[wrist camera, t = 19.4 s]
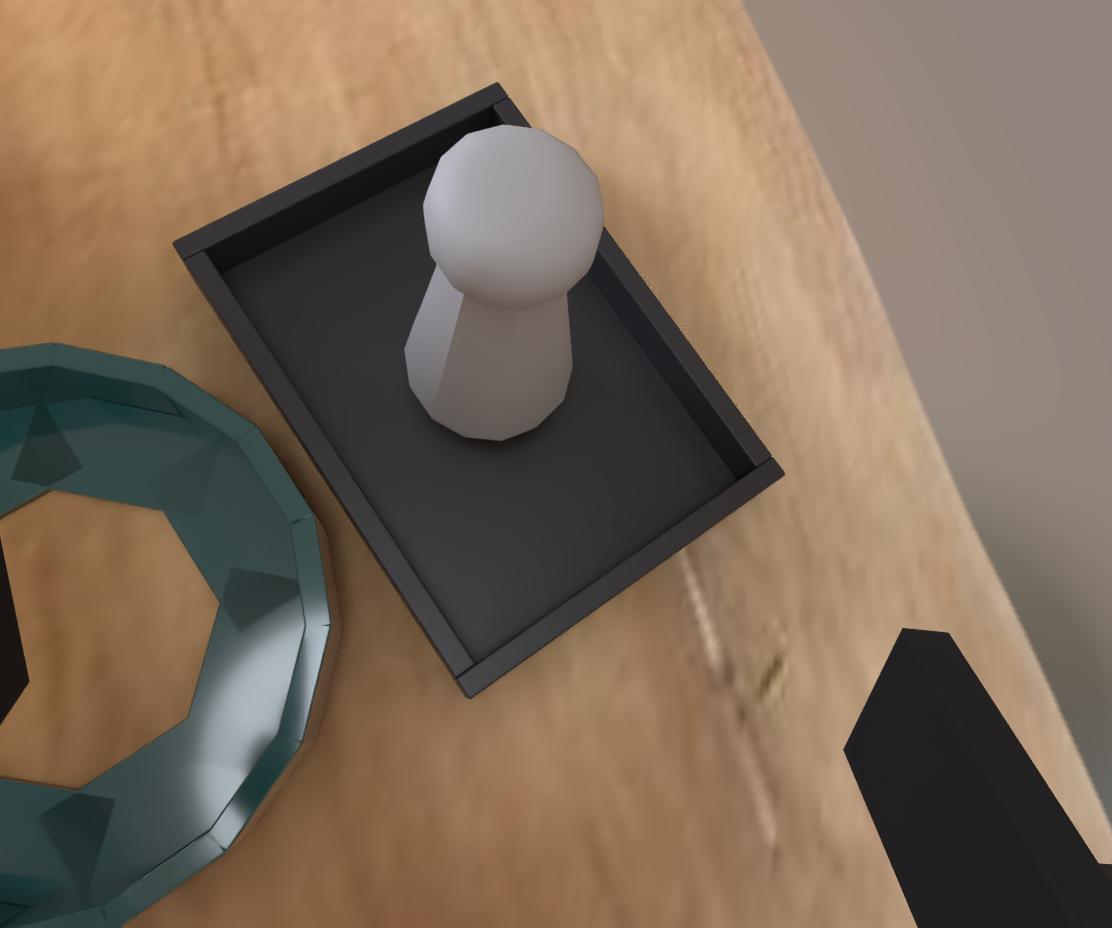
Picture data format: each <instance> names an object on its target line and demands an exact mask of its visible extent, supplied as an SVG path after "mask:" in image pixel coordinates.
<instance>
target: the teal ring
mask: <svg viewBox="0 0 1112 928" xmlns="http://www.w3.org/2000/svg"><path fill="white" fill-rule="evenodd" d="M50 490H56V491H61V492H66V493H71V494H76V495H81V496H86V497H91V498H96V499H102V500H107V501H112V502H117V503H122V504H127V505H132V506H137V507H142V508H147V509H152V510H158V511H163V512H164V513H165V515H166V517H167V518H168V520H169V522H170V523H171V525H172V526H173V528H174V530H175V531H176V533H177V534H178V536H179V538H180V539H181V541H182V543H183V544H184V546H185V547H186V549H187V551H188V552H189V554H190V555H191V557H192V559H193V560H194V562H195V564H196V565H197V567H198V568H199V570H200V572H201V573H202V575H203V576H204V578H205V580H206V581H207V583H208V585H209V586H210V588H211V589H212V591H213V593H214V594H215V596H216V597H217V599H218V601H219V602H220V604H219V608H218V612H217V615H216V619H215V622H214V626H213V629H212V633H211V636H210V640H209V643H208V647H207V651H206V654H205V658H204V661H203V665H202V668H201V672H200V675H199V679H198V682H197V686H196V689H195V693H194V697H193V700H192V704H191V707H190V711H189V714H188V718H187V719H186V720H184V721H182V722H181V723H179V724H178V725H176V726H175V727H173V728H172V729H170V730H169V731H167V732H166V733H164V734H163V735H161V736H159V737H158V738H156V739H155V740H153V741H152V742H150V743H149V744H147V745H146V746H144V747H143V748H141V749H140V750H138V751H136V752H135V753H133V754H132V755H130V756H129V757H127V758H126V759H124V760H123V761H121V762H120V763H118V764H117V765H115V766H113V767H112V768H110V769H109V770H107V771H106V772H104V773H103V774H101V775H100V776H98V777H97V778H95V779H94V780H92V781H90V782H89V783H87V784H86V785H84V786H83V787H81V788H80V789H78V790H75V789H69V788H63V787H57V786H51V785H45V784H39V783H33V782H27V781H20V780H14V779H8V778H2V777H0V928H121V927H122V926H124V925H125V924H127V923H128V922H129V921H131V920H132V919H134V918H135V917H136V916H138V915H139V914H141V913H142V912H144V911H145V910H146V909H148V908H149V907H151V906H152V905H153V904H155V903H156V902H158V901H159V900H161V899H162V898H163V897H165V896H166V895H168V894H169V893H170V892H172V891H173V890H175V889H176V888H178V887H179V886H180V885H182V884H183V883H185V882H186V881H187V880H189V879H190V878H192V877H193V876H195V875H196V874H197V873H199V872H200V871H202V870H203V869H204V868H206V867H207V866H209V865H210V864H212V863H213V862H214V861H216V860H217V859H219V858H220V857H221V856H223V855H224V854H226V853H227V852H228V851H229V850H230V849H231V848H232V847H234V846H235V845H236V844H237V843H238V842H239V841H241V840H242V839H243V838H244V837H245V836H246V835H247V834H249V832H250V831H252V830H253V828H254V827H255V825H256V824H257V822H258V821H259V820H260V818H261V817H262V815H263V814H264V812H265V811H266V809H267V808H268V807H269V805H270V804H271V802H272V801H273V799H274V798H275V796H276V795H277V794H278V792H279V791H280V789H281V788H282V786H283V785H284V783H285V782H286V780H287V779H288V778H289V776H290V775H291V773H292V772H293V770H294V769H295V767H296V766H297V765H298V763H299V762H300V760H301V759H302V757H303V756H304V754H305V753H306V752H307V750H308V749H309V747H310V746H311V744H312V743H313V741H314V740H315V738H316V736H317V734H318V732H319V728H320V723H321V719H322V715H323V711H324V707H325V703H326V699H327V694H328V690H329V686H330V682H331V678H332V674H333V669H334V665H335V661H336V657H337V653H338V649H339V645H340V640H341V636H342V630H343V629H342V622H341V616H340V610H339V604H338V597H337V591H336V585H335V579H334V572H333V566H332V560H331V554H330V547H329V541H328V535H327V533H326V530H325V529H324V527H323V525H322V524H321V522H320V521H319V519H318V518H317V516H316V515H315V513H314V512H313V510H312V508H311V507H310V505H309V504H308V502H307V501H306V499H305V498H304V496H303V495H302V493H301V491H300V490H299V488H298V487H297V485H296V484H295V482H294V481H293V479H292V477H291V476H290V474H289V473H288V471H287V470H286V468H285V467H284V465H283V464H282V462H281V460H280V459H279V457H278V456H277V454H276V453H275V451H274V450H273V448H272V447H271V445H270V444H269V442H268V441H267V440H266V438H265V437H264V435H263V434H262V432H261V431H260V429H259V428H258V427H257V426H256V425H255V424H254V423H252V422H251V421H249V420H248V419H246V418H245V417H243V416H242V415H240V414H239V413H237V412H236V411H234V410H233V409H231V408H230V407H228V406H227V405H225V404H224V403H222V402H221V401H219V400H218V399H216V398H215V397H213V396H212V395H210V394H209V393H207V392H206V391H204V390H203V389H201V388H200V387H198V386H197V385H195V384H194V383H192V382H191V381H189V380H188V379H186V378H185V377H183V376H182V375H180V374H179V373H177V372H176V371H174V370H173V369H171V368H169V367H166V366H165V365H161V364H156V363H152V362H147V361H142V360H137V359H133V358H128V357H123V356H119V355H114V354H109V353H105V352H100V351H95V350H90V349H86V348H81V347H76V346H72V345H67V344H62V343H44V344H36V345H29V346H22V347H14V348H7V349H0V518H1V517H3V516H5V515H7V514H9V513H10V512H12V511H14V510H16V509H18V508H20V507H21V506H23V505H25V504H27V503H29V502H30V501H32V500H34V499H36V498H38V497H39V496H41V495H43V494H45V493H47V492H49V491H50Z"/></svg>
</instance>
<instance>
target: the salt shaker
mask: <svg viewBox="0 0 1112 928" xmlns="http://www.w3.org/2000/svg"><path fill="white" fill-rule="evenodd" d="M423 210H424V220H425V226H426V232H427V238H428V244H429V250H430V255H431V256H432V258H433V259H434V261H435V262H436V264H437V265H436V268H435V271H434V273H433V276H432V278H431V281H430V284H429V286H428V289H427V291H426V294H425V297H424V299H423V302H422V304H421V307H420V309H419V311H418V314H417V316H416V319H415V321H414V324H413V327H412V330H411V332H410V335H409V338H408V341H407V343H406V346H405V349H404V350H405V358H406V365H407V372H408V379H409V385H410V387H411V389H412V391H413V392H414V394H415V395H416V396H417V398H418V399H419V401H420V402H421V404H422V405H423V407H424V408H425V410H426V411H427V412H428V414H429V415H430V417H431V418H432V419H433V420H434V421H436V422H438V423H440V424H442V425H443V426H445V427H447V428H449V429H450V430H452V431H454V432H456V433H457V434H459V435H461V436H463V437H467V438H477V439H486V440H496V441H503V440H505V439H508V438H510V437H513V436H516V435H518V434H521V433H524V432H526V431H529V430H531V429H534V428H536V427H537V426H538V425H539V424H540V423H541V422H542V421H543V420H544V419H545V418H546V417H547V416H548V415H549V414H550V413H551V412H552V411H553V410H554V409H555V408H556V407H557V406H558V405H559V404H560V403H561V402H562V401H563V400H564V397H565V394H566V390H567V386H568V383H569V379H570V375H571V372H572V368H573V362H572V350H571V338H570V326H569V314H568V302H567V292H568V291H569V290H570V289H571V288H572V287H573V286H574V285H575V284H576V283H577V282H578V281H579V280H580V279H581V278H582V277H583V276H584V275H586V274H587V272H588V270H589V269H590V267H591V265H592V263H593V261H594V258H595V254H596V251H597V247H598V244H599V240H600V237H601V233H602V230H603V222H604V210H603V205H602V200H601V194H600V189H599V184H598V178H597V177H596V176H595V174H594V173H593V172H592V170H591V169H590V168H589V167H588V165H587V164H586V163H585V161H584V160H583V159H582V157H581V156H580V155H579V154H578V152H577V151H576V150H575V149H574V148H573V147H571V146H569V145H567V144H566V143H564V142H562V141H561V140H559V139H557V138H556V137H554V136H552V135H550V134H549V133H547V132H545V131H544V130H542V129H535V128H527V127H519V126H511V125H500V126H496V127H492V128H488V129H484V130H480V131H476V132H473V133H469V134H467V135H465V136H464V137H463V138H462V139H461V140H460V141H459V142H458V143H456V144H455V145H454V146H453V147H452V148H451V149H450V150H449V151H447V152H446V153H445V154H444V155H443V156H442V157H441V158H440V160H439V163H438V165H437V168H436V171H435V173H434V176H433V178H432V181H431V183H430V186H429V188H428V191H427V194H426V197H425V200H424V203H423Z"/></svg>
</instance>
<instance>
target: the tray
mask: <svg viewBox="0 0 1112 928" xmlns="http://www.w3.org/2000/svg"><path fill="white" fill-rule="evenodd" d="M500 125H511V126H519V127H527V128H532V127H531V126H530V125H529V123H528V122H527V121H526V119H525V118H524V117H523V115H522V114H521V112H520V111H519V110H518V108H517V107H516V106H515V104H514V103H513V102H512V100H511V99H510V98H508V95H507V94H506V92H505V91H504V89H503V88H502V87H501V85H500V84H499V83H498V82H496V83H494V84H492V85H490V86H488V87H486V88H484V89H482V90H480V91H478V92H476V93H474V94H472V95H470V96H468V97H465V98H463V99H461V100H459V101H457V102H455V103H453V104H451V105H449V106H447V107H445V108H443V109H441V110H439V111H437V112H435V113H433V114H431V115H429V116H427V117H425V118H423V119H421V120H419V121H417V122H415V123H413V124H411V125H409V126H407V127H405V128H403V129H401V130H399V131H397V132H395V133H392V134H390V135H388V136H386V137H384V138H382V139H380V140H378V141H376V142H374V143H372V144H370V145H368V146H366V147H364V148H362V149H360V150H358V151H356V152H354V153H352V154H350V155H348V156H346V157H344V158H342V159H340V160H338V161H336V162H334V163H332V164H330V165H328V166H326V167H324V168H322V169H319V170H317V171H315V172H313V173H311V174H309V175H307V176H305V177H303V178H301V179H299V180H297V181H295V182H293V183H291V184H289V185H287V186H285V187H283V188H281V189H279V190H277V191H275V192H273V193H271V194H269V195H267V196H265V197H263V198H261V199H259V200H257V201H255V202H253V203H251V204H248V205H246V206H244V207H242V208H240V209H238V210H236V211H234V212H232V213H230V214H228V215H226V216H224V217H222V218H220V219H218V220H216V221H214V222H212V223H210V224H208V225H206V226H204V227H202V228H200V229H198V230H196V231H194V232H192V233H190V234H188V235H186V236H184V237H182V238H180V239H178V240H175V241H174V242H173V246H174V248H175V249H176V251H177V253H178V254H179V256H180V258H181V260H182V261H183V263H184V265H185V266H186V268H187V270H188V271H189V273H190V275H191V277H192V278H193V280H194V281H195V283H196V284H197V286H198V287H199V289H200V290H201V292H202V293H203V295H204V297H205V298H206V300H207V301H208V303H209V304H210V306H211V307H212V309H213V310H214V312H215V313H216V315H217V316H218V318H219V320H220V321H221V323H222V324H223V326H224V327H225V329H226V330H227V332H228V333H229V335H230V336H231V338H232V340H233V341H234V343H235V344H236V346H237V347H238V349H239V350H240V352H241V353H242V355H243V356H244V358H245V359H246V361H247V363H248V364H249V366H250V367H251V369H252V370H253V372H254V373H255V375H256V376H257V378H258V379H259V381H260V383H261V384H262V386H263V387H264V389H265V390H266V392H267V393H268V395H269V396H270V398H271V399H272V401H273V402H274V404H275V406H276V407H277V409H278V410H279V412H280V413H281V415H282V416H283V418H284V419H285V421H286V422H287V424H288V426H289V427H290V429H291V430H292V432H293V433H294V435H295V436H296V438H297V439H298V441H299V442H300V444H301V446H302V447H303V449H304V450H305V452H306V453H307V455H308V456H309V458H310V459H311V461H312V462H313V464H314V465H315V467H316V469H317V470H318V472H319V473H320V475H321V476H322V478H323V479H324V481H325V482H326V484H327V485H328V487H329V489H330V490H331V492H332V493H333V495H334V496H335V498H336V499H337V501H338V502H339V504H340V505H341V507H342V508H343V510H344V512H345V513H346V515H347V516H348V518H349V519H350V521H351V522H352V524H353V525H354V527H355V528H356V530H357V532H358V533H359V535H360V536H361V538H362V539H363V541H364V542H365V544H366V545H367V547H368V548H369V550H370V551H371V553H372V555H373V556H374V558H375V559H376V561H377V562H378V564H379V565H380V567H381V568H382V570H383V571H384V573H385V575H386V576H387V578H388V579H389V581H390V582H391V584H392V585H393V587H394V588H395V590H396V591H397V593H398V595H399V596H400V598H401V599H402V601H403V602H404V604H405V605H406V607H407V608H408V610H409V611H410V613H411V614H412V616H413V618H414V619H415V621H416V622H417V624H418V625H419V627H420V628H421V630H422V631H423V633H424V634H425V636H426V638H427V639H428V641H429V642H430V644H431V645H432V647H433V648H434V650H435V651H436V653H437V654H438V656H439V657H440V659H441V661H442V662H443V664H444V665H445V667H446V668H447V670H448V671H449V673H450V674H451V676H452V677H453V679H454V681H455V682H456V684H457V685H458V687H459V688H460V690H461V691H462V693H463V694H464V696H465V697H466V698H468V699H471V698H473V697H474V696H476V695H477V694H478V693H480V692H481V691H483V690H484V689H485V688H487V687H488V686H490V685H491V684H492V683H494V682H495V681H497V680H498V679H500V678H501V677H502V676H504V675H505V674H507V673H508V672H509V671H511V670H512V669H514V668H515V667H516V666H518V665H519V664H521V663H522V662H523V661H525V660H526V659H528V658H529V657H530V656H532V655H533V654H535V653H536V652H537V651H539V650H540V649H542V648H543V647H544V646H546V645H547V644H549V643H550V642H551V641H553V640H554V639H556V638H557V637H558V636H560V635H561V634H563V633H564V632H565V631H567V630H568V629H570V628H571V627H573V626H574V625H575V624H577V623H578V622H580V621H581V620H582V619H584V618H585V617H587V616H588V615H589V614H591V613H592V612H594V611H595V610H596V609H598V608H599V607H601V606H602V605H603V604H605V603H606V602H608V601H609V600H610V599H612V598H613V597H615V596H616V595H617V594H619V593H620V592H622V591H623V590H624V589H626V588H627V587H629V586H630V585H631V584H633V583H634V582H636V581H637V580H639V579H640V578H641V577H643V576H644V575H646V574H647V573H648V572H650V571H651V570H653V569H654V568H655V567H657V566H658V565H660V564H661V563H662V562H664V561H665V560H667V559H668V558H669V557H671V556H672V555H674V554H675V553H676V552H678V551H679V550H681V549H682V548H683V547H685V546H686V545H688V544H689V543H690V542H692V541H693V540H695V539H696V538H697V537H699V536H700V535H702V534H703V533H705V532H706V531H707V530H709V529H710V528H712V527H713V526H714V525H716V524H717V523H719V522H720V521H721V520H723V519H724V518H726V517H727V516H728V515H730V514H731V513H733V512H734V511H735V510H737V509H738V508H740V507H741V506H742V505H744V504H745V503H747V502H748V501H749V500H751V499H752V498H754V497H755V496H756V495H758V494H759V493H761V492H762V491H763V490H765V489H766V488H768V487H769V486H770V485H772V484H773V483H775V482H776V481H778V480H779V479H780V478H782V477H783V476H785V473H784V471H783V470H782V468H781V467H780V466H779V464H778V463H777V462H776V460H775V459H774V458H773V457H772V455H771V454H770V452H769V451H768V450H767V448H766V447H765V445H764V444H763V443H762V441H761V440H760V439H759V437H758V436H757V435H756V433H755V432H754V430H753V429H752V428H751V426H750V425H749V424H748V422H747V421H746V420H745V418H744V417H743V415H742V414H741V413H740V411H739V410H738V409H737V407H736V406H735V405H734V403H733V402H732V400H731V399H730V398H729V396H728V395H727V394H726V392H725V391H724V389H723V388H722V387H721V385H720V384H719V383H718V381H717V380H716V379H715V377H714V376H713V374H712V373H711V372H710V370H709V369H708V368H707V366H706V365H705V364H704V362H703V361H702V359H701V358H700V357H699V355H698V354H697V353H696V351H695V350H694V349H693V347H692V346H691V344H690V343H689V342H688V340H687V339H686V338H685V336H684V335H683V334H682V332H681V331H680V329H679V328H678V327H677V325H676V324H675V323H674V321H673V320H672V319H671V317H670V316H669V314H668V313H667V312H666V310H665V309H664V308H663V306H662V305H661V304H660V302H659V301H658V299H657V298H656V297H655V295H654V294H653V293H652V291H651V290H650V289H649V287H648V286H647V284H646V283H645V282H644V280H643V279H642V278H641V276H640V275H639V273H638V272H637V271H636V269H635V268H634V267H633V265H632V264H631V263H630V261H629V260H628V258H627V257H626V256H625V254H624V253H623V252H622V250H621V249H620V248H619V246H618V245H617V243H616V242H615V241H614V239H613V238H612V237H611V235H610V234H609V233H608V231H607V230H606V228H605V227H604V226H603V230H602V233H601V237H600V240H599V244H598V247H597V251H596V254H595V258H594V261H593V263H592V265H591V267H590V269H589V270H588V272H587V274H586V275H584V276H583V277H582V278H581V279H580V280H579V281H578V282H577V283H576V284H575V285H574V286H573V287H572V288H571V289H570V290H569V291H568V292H567V302H568V314H569V326H570V338H571V350H572V362H573V368H572V372H571V375H570V379H569V383H568V386H567V390H566V394H565V397H564V400H563V401H562V402H561V403H560V404H559V405H558V406H557V407H556V408H555V409H554V410H553V411H552V412H551V413H550V414H549V415H548V416H547V417H546V418H545V419H544V420H543V421H542V422H541V423H540V424H539V425H538V426H537V427H536V428H534V429H531V430H529V431H526V432H524V433H521V434H518V435H516V436H513V437H510V438H508V439H505V440H503V441H496V440H486V439H477V438H467V437H463V436H461V435H459V434H457V433H456V432H454V431H452V430H450V429H449V428H447V427H445V426H443V425H442V424H440V423H438V422H436V421H434V420H433V419H432V418H431V417H430V415H429V414H428V412H427V411H426V410H425V408H424V407H423V405H422V404H421V402H420V401H419V399H418V398H417V396H416V395H415V394H414V392H413V391H412V389H411V387H410V385H409V379H408V372H407V365H406V358H405V350H404V349H405V346H406V343H407V341H408V338H409V335H410V332H411V330H412V327H413V324H414V321H415V319H416V316H417V314H418V311H419V309H420V307H421V304H422V302H423V299H424V297H425V294H426V291H427V289H428V286H429V284H430V281H431V278H432V276H433V273H434V271H435V268H436V265H437V264H436V262H435V261H434V259H433V258H432V256H431V255H430V250H429V244H428V238H427V232H426V226H425V220H424V210H423V203H424V200H425V197H426V194H427V191H428V188H429V186H430V183H431V181H432V178H433V176H434V173H435V171H436V168H437V165H438V163H439V160H440V158H441V157H442V156H443V155H444V154H445V153H446V152H447V151H449V150H450V149H451V148H452V147H453V146H454V145H455V144H456V143H458V142H459V141H460V140H461V139H462V138H463V137H464V136H465V135H467V134H469V133H473V132H476V131H480V130H484V129H488V128H492V127H496V126H500Z"/></svg>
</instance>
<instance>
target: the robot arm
mask: <svg viewBox="0 0 1112 928" xmlns="http://www.w3.org/2000/svg"><path fill="white" fill-rule="evenodd" d="M28 683H29V677H28V672H27V667H26V662H25V657H24V652H23V647H22V642H21V637H20V632H19V627H18V622H17V617H16V613H15V608H14V603H13V598H12V593H11V588H10V583H9V578H8V573H7V568H6V563H5V558H4V553H3V549H2V544H1V539H0V725H1V723H2V722H3V720H4V719H5V717H6V716H7V714H8V713H9V711H10V710H11V708H12V707H13V705H14V704H15V702H16V701H17V700H18V698H19V697H20V695H21V694H22V692H23V691H24V689H25V688H26V686H27V685H28ZM843 750H844V753H845V755H846V758H847V760H848V762H849V765H850V767H851V770H852V772H853V774H854V777H855V779H856V781H857V784H858V786H859V789H860V791H861V793H862V796H863V798H864V801H865V803H866V805H867V808H868V810H869V813H870V815H871V817H872V820H873V822H874V824H875V827H876V829H877V832H878V834H879V836H880V839H881V841H882V844H883V846H884V848H885V851H886V853H887V855H888V858H889V860H890V863H891V865H892V867H893V870H894V872H895V875H896V877H897V879H898V882H899V884H900V887H901V889H902V891H903V894H904V896H905V898H906V901H907V903H908V906H909V908H910V910H911V913H912V915H913V918H914V920H915V922H916V925H917V927H918V928H1112V864H1099V863H1098V862H1097V860H1096V859H1095V857H1094V856H1093V854H1092V853H1091V851H1090V849H1089V848H1088V846H1087V845H1086V843H1085V842H1084V840H1083V839H1082V837H1081V836H1080V834H1079V833H1078V831H1077V829H1076V828H1075V826H1074V825H1073V823H1072V822H1071V820H1070V819H1069V817H1068V816H1067V814H1066V813H1065V811H1064V809H1063V808H1062V806H1061V805H1060V803H1059V802H1058V800H1057V799H1056V797H1055V796H1054V794H1053V793H1052V791H1051V789H1050V788H1049V786H1048V785H1047V783H1046V782H1045V780H1044V779H1043V777H1042V776H1041V774H1040V773H1039V771H1038V769H1037V768H1036V766H1035V765H1034V763H1033V762H1032V760H1031V759H1030V757H1029V756H1028V754H1027V753H1026V751H1025V749H1024V748H1023V746H1022V745H1021V743H1020V742H1019V740H1018V739H1017V737H1016V736H1015V734H1014V733H1013V731H1012V730H1011V728H1010V726H1009V725H1008V723H1007V722H1006V720H1005V719H1004V717H1003V716H1002V714H1001V713H1000V711H999V710H998V708H997V706H996V705H995V703H994V702H993V700H992V699H991V697H990V696H989V694H988V693H987V691H986V690H985V688H984V686H983V685H982V683H981V682H980V680H979V679H978V677H977V676H976V674H975V673H974V671H973V670H972V668H971V666H970V665H969V663H968V662H967V660H966V659H965V657H964V656H963V654H962V653H961V651H960V650H959V648H958V646H957V645H956V643H955V642H954V640H953V639H952V637H951V636H950V634H949V633H946V632H937V631H927V630H917V629H908V628H902V630H901V632H900V634H899V636H898V638H897V640H896V642H895V644H894V647H893V649H892V651H891V653H890V655H889V657H888V659H887V661H886V663H885V665H884V667H883V669H882V671H881V673H880V675H879V677H878V679H877V681H876V684H875V686H874V688H873V690H872V692H871V694H870V696H869V698H868V700H867V702H866V704H865V706H864V708H863V710H862V712H861V714H860V716H859V718H858V720H857V723H856V725H855V727H854V729H853V731H852V733H851V735H850V737H849V739H848V741H847V743H846V745H845V747H844V749H843Z"/></svg>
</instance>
